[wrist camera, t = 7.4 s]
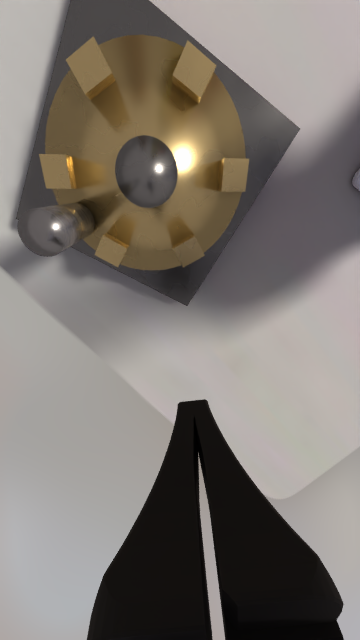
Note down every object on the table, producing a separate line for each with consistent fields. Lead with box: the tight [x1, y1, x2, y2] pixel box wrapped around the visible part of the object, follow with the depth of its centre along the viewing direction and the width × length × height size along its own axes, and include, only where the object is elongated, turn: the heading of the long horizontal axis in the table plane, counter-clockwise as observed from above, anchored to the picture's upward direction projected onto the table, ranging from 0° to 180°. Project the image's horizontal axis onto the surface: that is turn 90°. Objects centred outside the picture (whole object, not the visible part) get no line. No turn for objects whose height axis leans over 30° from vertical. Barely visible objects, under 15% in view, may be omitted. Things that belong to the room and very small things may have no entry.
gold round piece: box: [18, 35, 249, 270], centre depth 11 cm, size 10×10×6 cm
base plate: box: [16, 0, 300, 306], centre depth 15 cm, size 12×12×2 cm
